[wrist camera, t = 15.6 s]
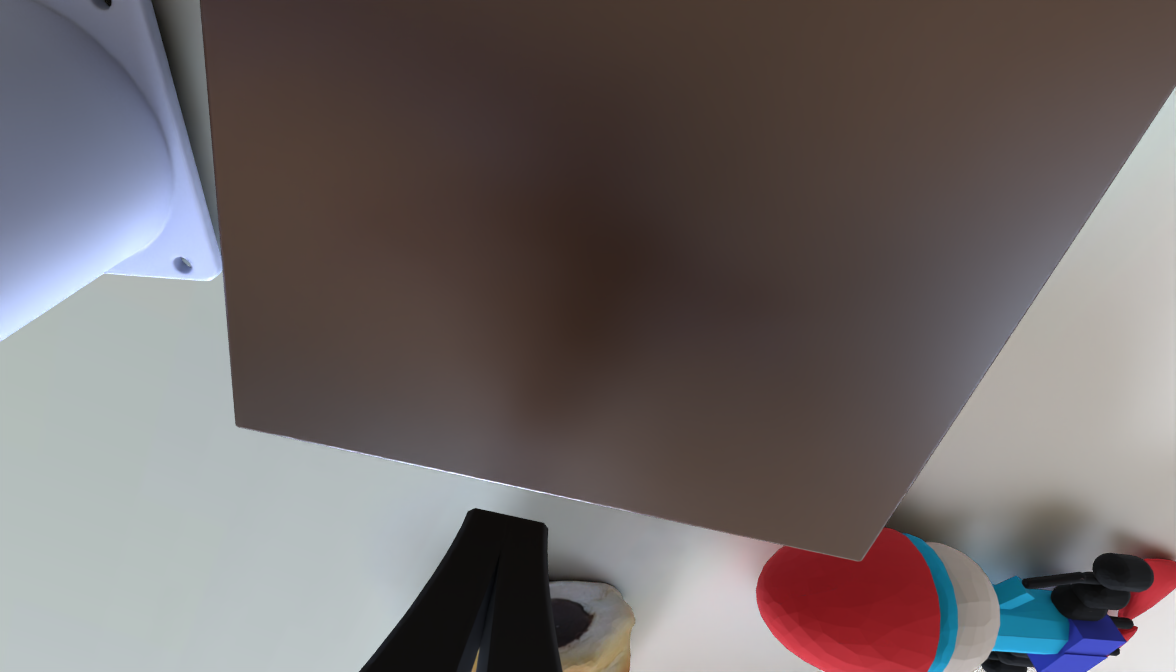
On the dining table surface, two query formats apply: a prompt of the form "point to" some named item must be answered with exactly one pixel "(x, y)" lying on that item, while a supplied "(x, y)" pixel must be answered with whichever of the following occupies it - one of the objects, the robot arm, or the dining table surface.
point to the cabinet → (658, 232)
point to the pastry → (590, 627)
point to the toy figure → (951, 609)
